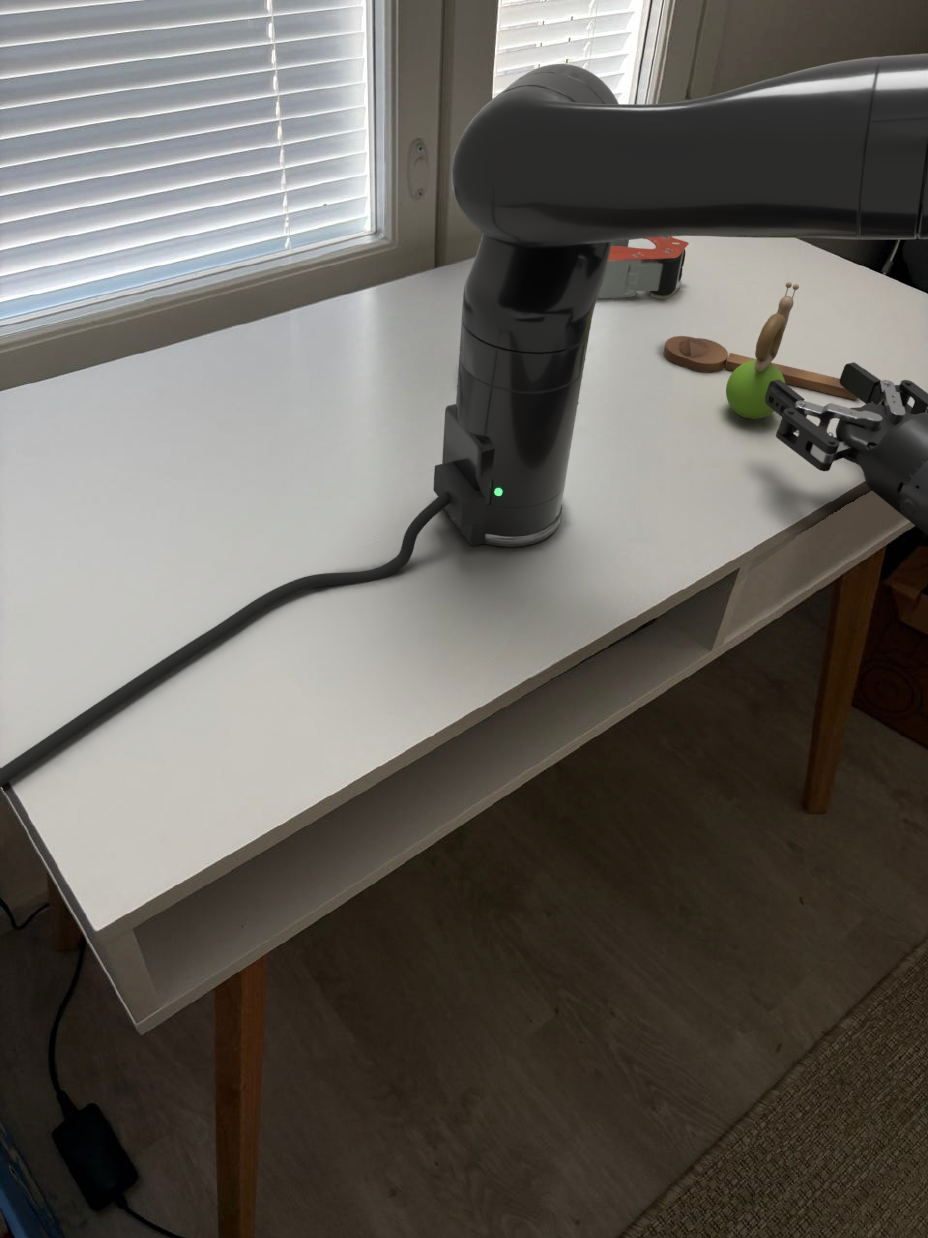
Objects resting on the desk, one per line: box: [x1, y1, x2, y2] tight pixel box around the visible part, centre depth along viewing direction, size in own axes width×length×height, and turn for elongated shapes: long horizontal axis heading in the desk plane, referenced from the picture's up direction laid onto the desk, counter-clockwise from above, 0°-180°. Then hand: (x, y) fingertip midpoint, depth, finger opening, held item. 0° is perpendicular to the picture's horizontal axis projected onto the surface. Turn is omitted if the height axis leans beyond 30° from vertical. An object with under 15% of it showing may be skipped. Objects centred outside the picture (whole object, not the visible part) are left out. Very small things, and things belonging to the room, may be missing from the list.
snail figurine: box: [725, 281, 800, 420], centre depth 94 cm, size 5×6×12 cm
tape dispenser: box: [597, 236, 689, 300], centre depth 113 cm, size 18×5×20 cm
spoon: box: [663, 335, 857, 401], centre depth 103 cm, size 20×5×1 cm, turn 70°
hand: (808, 380), depth 90 cm, fingers open, 8 cm apart
